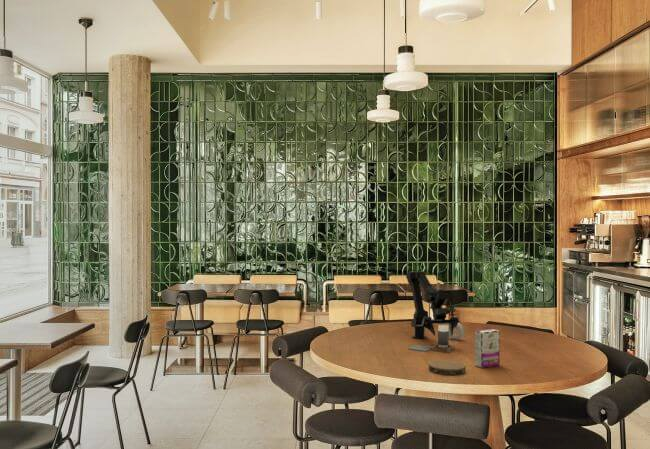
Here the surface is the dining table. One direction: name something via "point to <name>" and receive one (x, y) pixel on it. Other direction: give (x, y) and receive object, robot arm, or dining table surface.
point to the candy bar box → (487, 348)
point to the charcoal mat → (420, 348)
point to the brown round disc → (447, 367)
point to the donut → (459, 333)
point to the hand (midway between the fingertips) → (443, 335)
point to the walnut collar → (441, 349)
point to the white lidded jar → (443, 335)
